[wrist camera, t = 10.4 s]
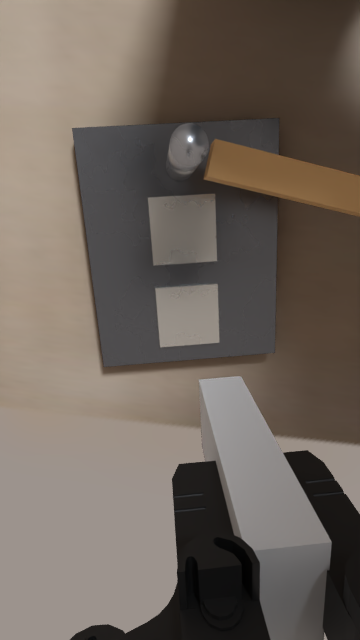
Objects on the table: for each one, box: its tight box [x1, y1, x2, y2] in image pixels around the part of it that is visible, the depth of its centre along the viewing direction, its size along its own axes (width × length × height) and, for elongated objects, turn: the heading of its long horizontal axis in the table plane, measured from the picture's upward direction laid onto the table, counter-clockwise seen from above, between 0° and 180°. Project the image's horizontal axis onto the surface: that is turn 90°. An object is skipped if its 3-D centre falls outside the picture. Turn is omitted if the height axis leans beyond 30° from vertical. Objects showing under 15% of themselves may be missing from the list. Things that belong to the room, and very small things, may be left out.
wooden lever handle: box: [204, 139, 360, 217], centre depth 19 cm, size 12×2×2 cm, turn 78°
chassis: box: [72, 118, 279, 367], centre depth 21 cm, size 16×13×8 cm
